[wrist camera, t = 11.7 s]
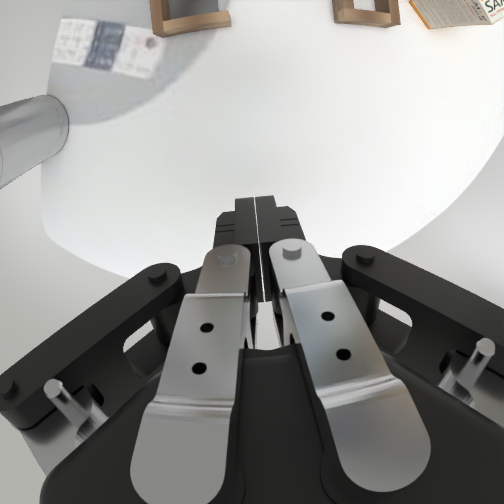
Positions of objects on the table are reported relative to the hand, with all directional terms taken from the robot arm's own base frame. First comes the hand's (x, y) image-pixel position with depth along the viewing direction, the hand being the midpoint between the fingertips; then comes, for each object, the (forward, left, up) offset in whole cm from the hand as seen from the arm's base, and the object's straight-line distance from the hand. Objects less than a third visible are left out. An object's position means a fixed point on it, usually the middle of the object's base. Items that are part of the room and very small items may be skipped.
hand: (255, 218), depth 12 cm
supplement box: (+26, +17, -27) cm, 41 cm away
